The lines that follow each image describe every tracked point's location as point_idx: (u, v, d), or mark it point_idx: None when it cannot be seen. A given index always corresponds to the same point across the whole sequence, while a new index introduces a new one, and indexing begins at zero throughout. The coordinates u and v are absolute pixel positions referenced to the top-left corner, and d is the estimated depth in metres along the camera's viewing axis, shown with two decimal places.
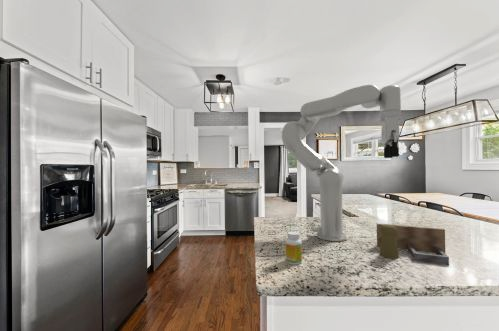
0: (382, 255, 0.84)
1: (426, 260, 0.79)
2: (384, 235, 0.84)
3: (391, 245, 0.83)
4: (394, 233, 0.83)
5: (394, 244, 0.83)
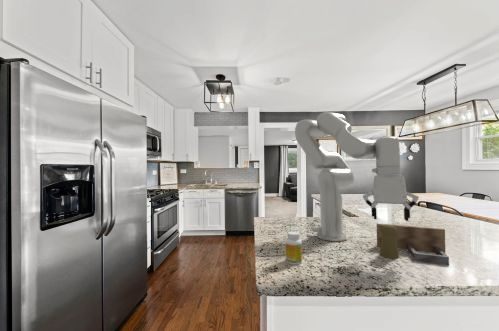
0: (382, 255, 0.84)
1: (426, 260, 0.79)
2: (384, 235, 0.84)
3: (391, 245, 0.83)
4: (394, 233, 0.83)
5: (394, 244, 0.83)
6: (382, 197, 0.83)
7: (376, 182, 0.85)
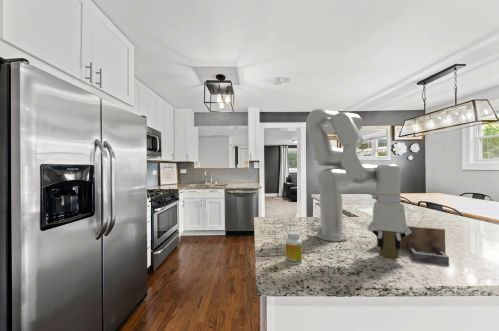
0: (382, 255, 0.84)
1: (426, 260, 0.79)
2: (384, 235, 0.84)
3: (391, 245, 0.83)
4: (394, 233, 0.83)
5: (394, 244, 0.83)
6: (381, 225, 0.84)
7: (376, 209, 0.85)
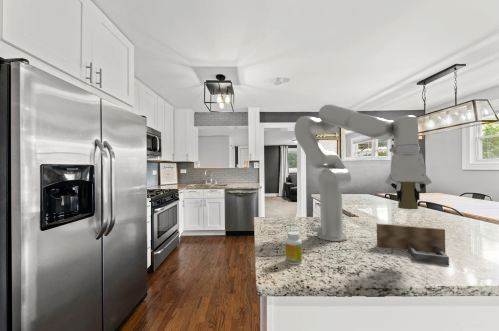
0: (401, 207, 0.84)
1: (426, 260, 0.79)
2: (403, 187, 0.84)
3: (410, 196, 0.82)
4: (413, 183, 0.82)
5: (413, 195, 0.82)
6: (400, 176, 0.83)
7: (394, 161, 0.85)
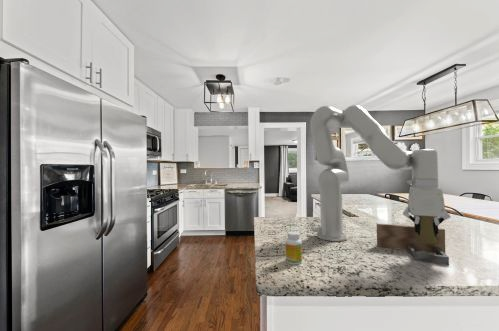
0: (419, 240, 0.83)
1: (426, 260, 0.79)
2: (421, 220, 0.84)
3: (429, 230, 0.82)
4: (432, 218, 0.82)
5: (432, 229, 0.82)
6: (419, 210, 0.83)
7: (413, 194, 0.84)
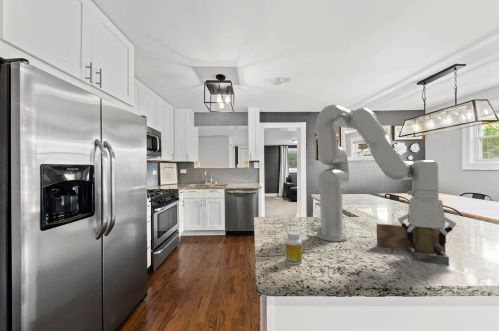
0: None
1: (426, 260, 0.79)
2: (420, 235, 0.84)
3: (427, 245, 0.82)
4: (430, 233, 0.82)
5: (430, 244, 0.82)
6: (419, 221, 0.83)
7: (413, 205, 0.84)
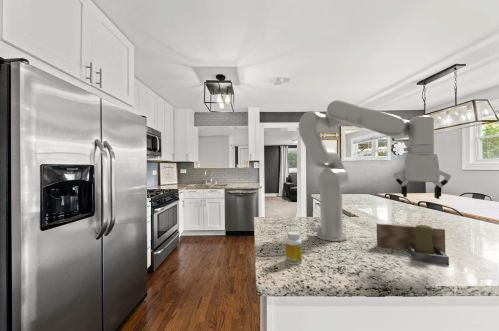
0: None
1: (426, 260, 0.79)
2: (420, 235, 0.84)
3: (427, 245, 0.82)
4: (430, 233, 0.82)
5: (430, 244, 0.82)
6: (414, 175, 0.85)
7: (408, 160, 0.86)
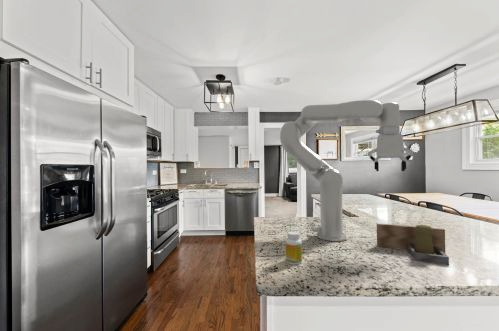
0: None
1: (426, 260, 0.79)
2: (420, 235, 0.84)
3: (427, 245, 0.82)
4: (430, 233, 0.82)
5: (430, 244, 0.82)
6: (384, 152, 1.01)
7: (379, 140, 1.02)
